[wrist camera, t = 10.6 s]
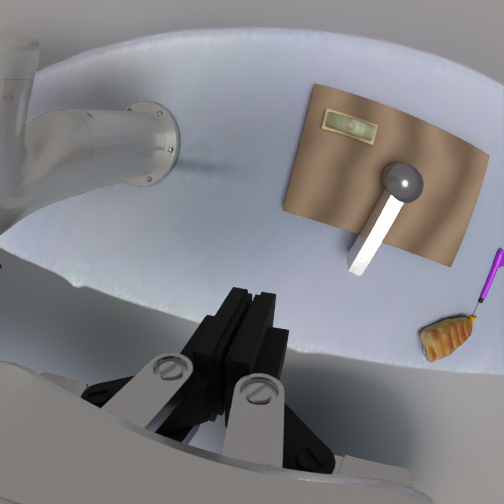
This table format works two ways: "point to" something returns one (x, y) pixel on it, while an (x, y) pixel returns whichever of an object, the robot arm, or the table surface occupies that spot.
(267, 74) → the table surface
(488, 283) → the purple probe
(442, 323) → the pastry
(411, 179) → the ball-ended lever
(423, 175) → the brown wooden board
